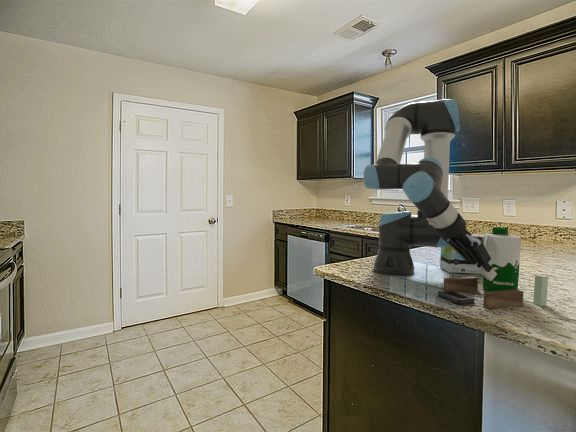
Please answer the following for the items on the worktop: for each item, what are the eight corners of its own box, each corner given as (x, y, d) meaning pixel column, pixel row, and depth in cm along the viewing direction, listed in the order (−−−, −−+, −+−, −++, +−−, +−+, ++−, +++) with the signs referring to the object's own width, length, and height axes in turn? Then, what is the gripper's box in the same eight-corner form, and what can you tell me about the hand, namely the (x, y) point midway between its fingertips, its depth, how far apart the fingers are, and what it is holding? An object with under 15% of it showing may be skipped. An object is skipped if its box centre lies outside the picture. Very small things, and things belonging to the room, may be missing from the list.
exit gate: (482, 286, 107) (483, 262, 107) (487, 286, 108) (488, 262, 107) (540, 305, 89) (542, 276, 88) (546, 305, 89) (548, 276, 89)
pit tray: (438, 296, 96) (438, 291, 96) (452, 295, 98) (452, 290, 97) (458, 305, 89) (459, 299, 88) (474, 303, 90) (474, 298, 90)
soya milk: (511, 291, 102) (514, 227, 100) (521, 300, 93) (525, 230, 92) (479, 289, 104) (482, 226, 103) (486, 297, 96) (489, 229, 95)
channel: (443, 290, 102) (443, 278, 102) (472, 288, 105) (473, 276, 105) (489, 309, 86) (490, 294, 85) (522, 306, 88) (523, 291, 88)
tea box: (449, 273, 125) (451, 235, 124) (439, 267, 135) (440, 232, 134) (490, 274, 124) (492, 235, 123) (477, 268, 134) (479, 232, 133)
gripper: (421, 227, 96) (466, 280, 101) (454, 232, 84) (504, 292, 89) (438, 209, 97) (481, 263, 102) (472, 211, 85) (520, 272, 90)
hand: (492, 276), depth 95 cm, fingers closed
